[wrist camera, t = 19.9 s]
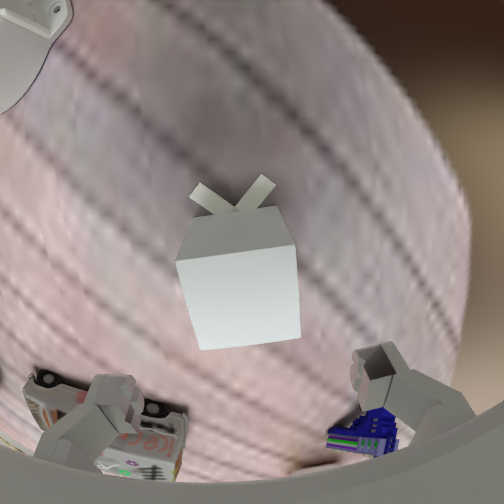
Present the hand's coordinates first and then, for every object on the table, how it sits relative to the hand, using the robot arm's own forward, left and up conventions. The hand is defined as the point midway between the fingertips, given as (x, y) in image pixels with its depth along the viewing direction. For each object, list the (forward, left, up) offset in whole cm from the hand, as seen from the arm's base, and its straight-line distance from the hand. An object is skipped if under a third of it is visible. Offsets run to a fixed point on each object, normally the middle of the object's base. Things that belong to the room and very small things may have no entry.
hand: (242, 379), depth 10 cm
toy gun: (+32, +14, -18) cm, 40 cm away
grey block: (+3, 0, -18) cm, 18 cm away
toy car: (+26, -24, -19) cm, 39 cm away
